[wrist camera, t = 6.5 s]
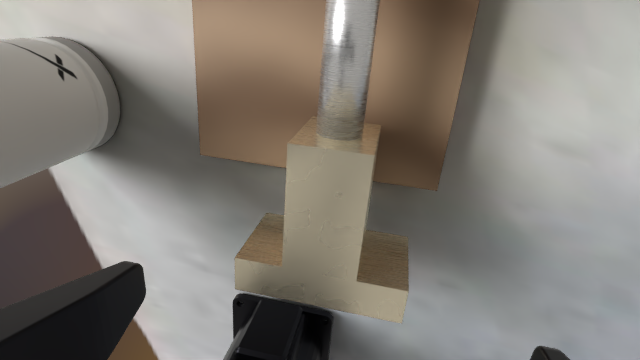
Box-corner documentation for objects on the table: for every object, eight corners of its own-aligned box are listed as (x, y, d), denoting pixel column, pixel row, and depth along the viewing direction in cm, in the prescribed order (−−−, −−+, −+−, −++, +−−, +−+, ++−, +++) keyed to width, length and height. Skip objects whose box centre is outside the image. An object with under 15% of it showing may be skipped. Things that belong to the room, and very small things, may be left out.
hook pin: (402, 264, 19) (401, 323, 15) (266, 239, 20) (235, 289, 16) (468, -65, 13) (492, -96, 10) (273, -75, 14) (229, -106, 11)
